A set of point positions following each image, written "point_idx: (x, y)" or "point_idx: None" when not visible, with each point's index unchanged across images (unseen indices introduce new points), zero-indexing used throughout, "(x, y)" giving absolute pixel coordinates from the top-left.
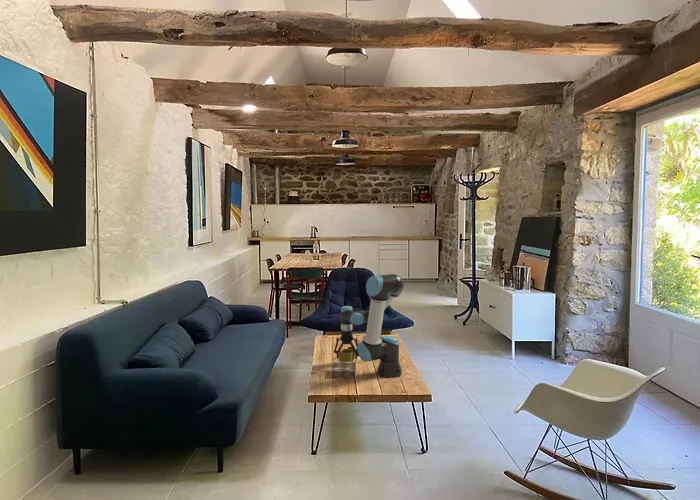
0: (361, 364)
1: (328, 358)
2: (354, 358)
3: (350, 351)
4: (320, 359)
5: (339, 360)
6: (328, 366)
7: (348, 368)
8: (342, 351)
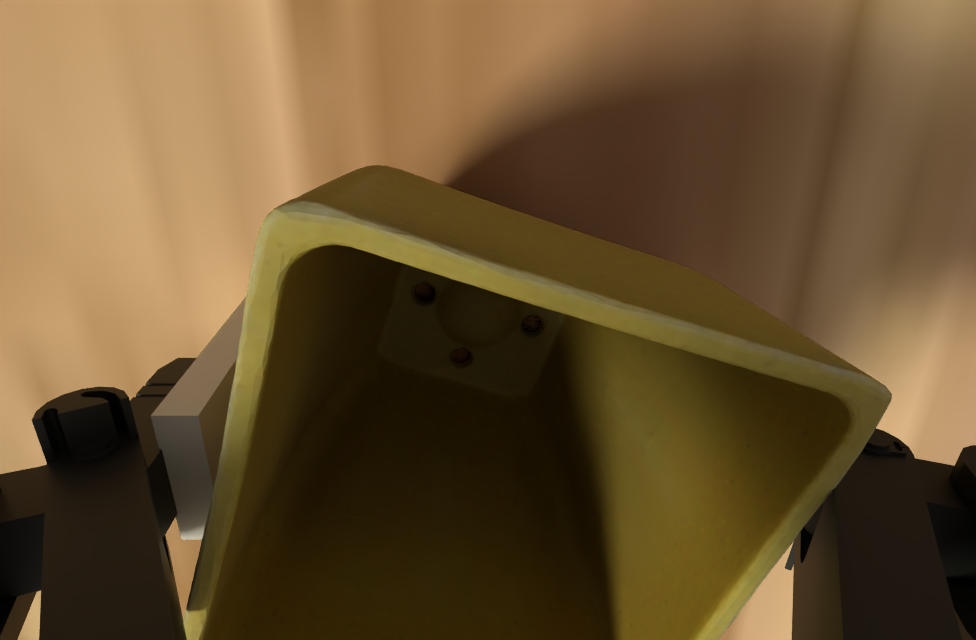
0: (136, 306)
1: None
2: None
3: (373, 631)
4: None
5: None
6: (922, 161)
7: None
8: (643, 621)
